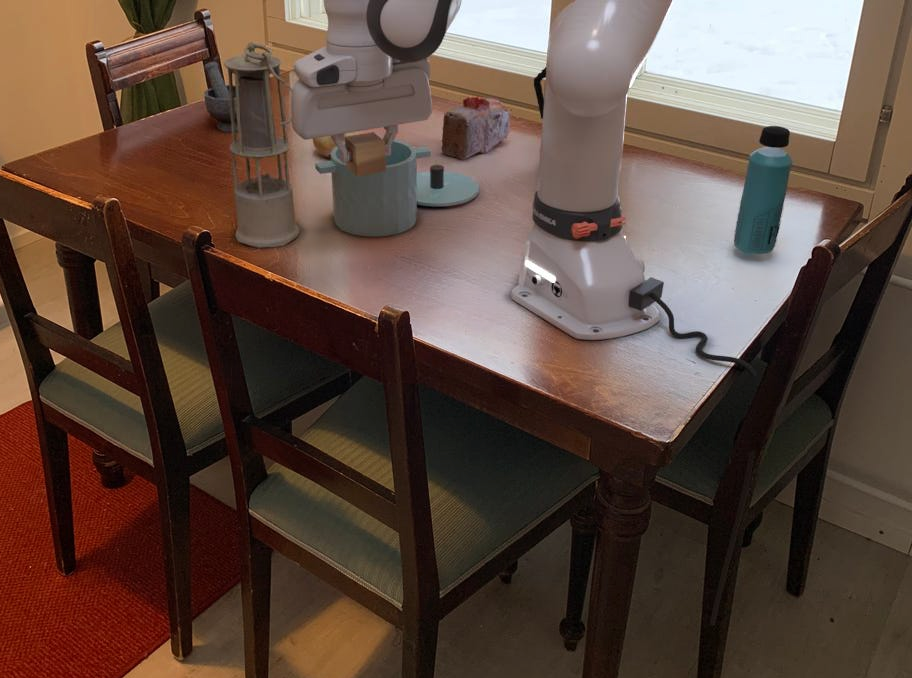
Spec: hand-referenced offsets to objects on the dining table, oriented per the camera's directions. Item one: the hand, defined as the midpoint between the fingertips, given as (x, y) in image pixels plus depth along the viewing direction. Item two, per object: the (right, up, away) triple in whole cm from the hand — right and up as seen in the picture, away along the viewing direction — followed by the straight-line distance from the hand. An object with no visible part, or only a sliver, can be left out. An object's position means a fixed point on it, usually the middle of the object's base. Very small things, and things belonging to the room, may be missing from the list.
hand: (365, 158), depth 145 cm
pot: (0, -4, +22) cm, 23 cm away
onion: (-9, +13, +47) cm, 49 cm away
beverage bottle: (+60, -12, +12) cm, 62 cm away
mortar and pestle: (-32, +22, +60) cm, 71 cm away
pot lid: (+10, +3, +31) cm, 33 cm away
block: (0, -1, +1) cm, 2 cm away
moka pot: (+35, +8, +41) cm, 54 cm away
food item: (+18, +15, +50) cm, 55 cm away
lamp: (-16, -8, +17) cm, 25 cm away
